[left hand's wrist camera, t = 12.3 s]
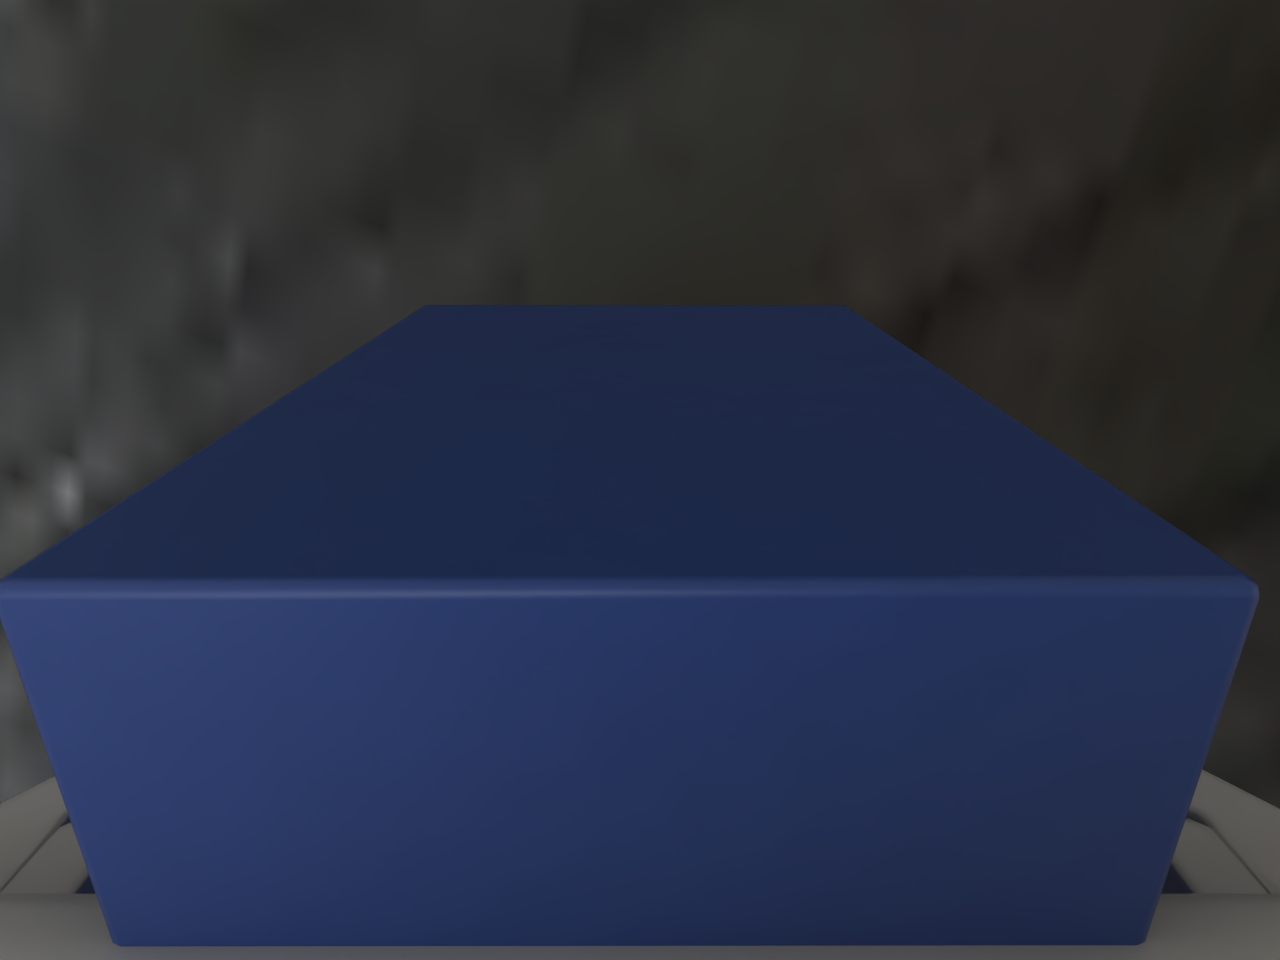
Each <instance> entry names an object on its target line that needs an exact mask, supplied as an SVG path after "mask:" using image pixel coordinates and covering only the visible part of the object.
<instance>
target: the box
mask: <svg viewBox="0 0 1280 960" xmlns="http://www.w3.org/2000/svg"><path fill="white" fill-rule="evenodd" d="M1258 600H1259V588H1258V585H1257V584H1256V582H1255V581H1254V579H1252V578H1251V577H1249V576H1248V575H1246V574H1245V573H1243V572H1242V571H1240V570H1239V569H1237V568H1236V567H1234V566H1233V565H1231V564H1230V563H1228V562H1227V561H1226V560H1224V559H1223V558H1221V557H1220V556H1218V555H1217V554H1215V553H1214V552H1212V551H1211V550H1209V549H1208V548H1206V547H1205V546H1203V545H1202V544H1200V543H1199V542H1197V541H1196V540H1194V539H1193V538H1191V537H1190V536H1188V535H1187V534H1185V533H1184V532H1182V531H1181V530H1179V529H1178V528H1176V527H1175V526H1173V525H1172V524H1170V523H1169V522H1167V521H1166V520H1164V519H1163V518H1161V517H1160V516H1158V515H1157V514H1155V513H1154V512H1152V511H1151V510H1149V509H1148V508H1146V507H1145V506H1143V505H1142V504H1140V503H1139V502H1137V501H1136V500H1134V499H1133V498H1132V497H1130V496H1129V495H1127V494H1126V493H1124V492H1123V491H1121V490H1120V489H1118V488H1117V487H1115V486H1114V485H1112V484H1111V483H1109V482H1108V481H1106V480H1105V479H1103V478H1102V477H1100V476H1099V475H1097V474H1096V473H1094V472H1093V471H1091V470H1090V469H1088V468H1087V467H1085V466H1084V465H1082V464H1081V463H1079V462H1078V461H1076V460H1075V459H1073V458H1072V457H1070V456H1069V455H1067V454H1066V453H1064V452H1063V451H1061V450H1060V449H1058V448H1057V447H1055V446H1054V445H1052V444H1051V443H1049V442H1048V441H1046V440H1045V439H1043V438H1042V437H1040V436H1039V435H1038V434H1036V433H1035V432H1033V431H1032V430H1030V429H1029V428H1027V427H1026V426H1024V425H1023V424H1021V423H1020V422H1018V421H1017V420H1015V419H1014V418H1012V417H1011V416H1009V415H1008V414H1006V413H1005V412H1003V411H1002V410H1000V409H999V408H997V407H996V406H994V405H993V404H991V403H990V402H988V401H987V400H985V399H984V398H982V397H981V396H979V395H978V394H976V393H975V392H973V391H972V390H970V389H969V388H967V387H966V386H964V385H963V384H961V383H960V382H958V381H957V380H955V379H954V378H952V377H951V376H949V375H948V374H946V373H945V372H943V371H942V370H941V369H939V368H938V367H936V366H935V365H933V364H932V363H930V362H929V361H927V360H926V359H924V358H923V357H921V356H920V355H918V354H917V353H915V352H914V351H912V350H911V349H909V348H908V347H906V346H905V345H903V344H902V343H900V342H899V341H897V340H896V339H894V338H893V337H891V336H890V335H888V334H887V333H885V332H884V331H882V330H881V329H879V328H878V327H876V326H875V325H873V324H872V323H870V322H869V321H867V320H866V319H864V318H863V317H861V316H860V315H858V314H857V313H855V312H854V311H852V310H851V309H849V308H848V307H846V306H844V305H426V306H424V307H422V308H420V309H419V310H417V311H415V312H414V313H412V314H411V315H409V316H408V317H406V318H405V319H403V320H402V321H400V322H398V323H397V324H395V325H394V326H392V327H391V328H389V329H388V330H386V331H384V332H383V333H381V334H380V335H378V336H377V337H375V338H374V339H372V340H371V341H369V342H367V343H366V344H364V345H363V346H361V347H360V348H358V349H357V350H355V351H353V352H352V353H350V354H349V355H347V356H346V357H344V358H343V359H341V360H340V361H338V362H336V363H335V364H333V365H332V366H330V367H329V368H327V369H326V370H324V371H322V372H321V373H319V374H318V375H316V376H315V377H313V378H312V379H310V380H309V381H307V382H305V383H304V384H302V385H301V386H299V387H298V388H296V389H295V390H293V391H291V392H290V393H288V394H287V395H285V396H284V397H282V398H281V399H279V400H278V401H276V402H274V403H273V404H271V405H270V406H268V407H267V408H265V409H264V410H262V411H260V412H259V413H257V414H256V415H254V416H253V417H251V418H250V419H248V420H247V421H245V422H243V423H242V424H240V425H239V426H237V427H236V428H234V429H233V430H231V431H229V432H228V433H226V434H225V435H223V436H222V437H220V438H219V439H217V440H216V441H214V442H212V443H211V444H209V445H208V446H206V447H205V448H203V449H202V450H200V451H198V452H197V453H195V454H194V455H192V456H191V457H189V458H188V459H186V460H185V461H183V462H181V463H180V464H178V465H177V466H175V467H174V468H172V469H171V470H169V471H167V472H166V473H164V474H163V475H161V476H160V477H158V478H157V479H155V480H154V481H152V482H150V483H149V484H147V485H146V486H144V487H143V488H141V489H140V490H138V491H137V492H135V493H133V494H132V495H130V496H129V497H127V498H126V499H124V500H123V501H121V502H119V503H118V504H116V505H115V506H113V507H112V508H110V509H109V510H107V511H106V512H104V513H102V514H101V515H99V516H98V517H96V518H95V519H93V520H92V521H90V522H88V523H87V524H85V525H84V526H82V527H81V528H79V529H78V530H76V531H75V532H73V533H71V534H70V535H68V536H67V537H65V538H64V539H62V540H61V541H59V542H57V543H56V544H54V545H53V546H51V547H50V548H48V549H47V550H45V551H44V552H42V553H40V554H39V555H37V556H36V557H34V558H33V559H31V560H30V561H28V562H26V563H25V564H23V565H22V566H20V567H19V568H17V569H16V570H14V571H13V572H11V573H9V574H8V575H6V576H5V577H3V578H2V579H0V620H1V623H2V625H3V628H4V631H5V634H6V637H7V640H8V643H9V646H10V648H11V651H12V654H13V657H14V660H15V663H16V666H17V669H18V672H19V674H20V677H21V680H22V683H23V686H24V689H25V692H26V695H27V697H28V700H29V703H30V706H31V709H32V712H33V715H34V718H35V720H36V723H37V726H38V729H39V732H40V735H41V738H42V741H43V743H44V746H45V749H46V752H47V755H48V758H49V761H50V764H51V766H52V769H53V772H54V775H55V778H56V781H57V784H58V787H59V789H60V792H61V795H62V798H63V801H64V804H65V807H66V810H67V813H68V815H69V818H70V821H71V824H72V827H73V830H74V833H75V836H76V838H77V841H78V844H79V847H80V850H81V853H82V856H83V859H84V861H85V864H86V867H87V870H88V873H89V876H90V879H91V882H92V884H93V887H94V890H95V893H96V896H97V899H98V902H99V905H100V907H101V910H102V913H103V916H104V919H105V922H106V925H107V928H108V930H109V933H110V936H111V939H112V942H113V943H114V944H116V945H119V946H958V945H1139V944H1141V943H1143V942H1145V940H1146V937H1147V934H1148V931H1149V928H1150V925H1151V922H1152V919H1153V916H1154V913H1155V910H1156V907H1157V904H1158V901H1159V898H1160V895H1161V892H1162V889H1163V886H1164V883H1165V880H1166V877H1167V874H1168V871H1169V868H1170V865H1171V862H1172V859H1173V856H1174V853H1175V850H1176V847H1177V844H1178V841H1179V838H1180V835H1181V832H1182V829H1183V826H1184V823H1185V820H1186V817H1187V814H1188V811H1189V808H1190V805H1191V802H1192V799H1193V796H1194V793H1195V790H1196V787H1197V784H1198V781H1199V778H1200V775H1201V772H1202V769H1203V766H1204V763H1205V760H1206V757H1207V754H1208V750H1209V747H1210V744H1211V741H1212V738H1213V735H1214V732H1215V729H1216V726H1217V723H1218V720H1219V717H1220V714H1221V711H1222V708H1223V705H1224V702H1225V699H1226V696H1227V693H1228V690H1229V687H1230V684H1231V681H1232V678H1233V675H1234V672H1235V669H1236V666H1237V663H1238V660H1239V657H1240V654H1241V651H1242V648H1243V645H1244V642H1245V639H1246V636H1247V633H1248V630H1249V627H1250V624H1251V621H1252V618H1253V615H1254V612H1255V609H1256V606H1257V603H1258Z"/></svg>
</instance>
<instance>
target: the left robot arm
mask: <svg viewBox="0 0 1280 960" xmlns="http://www.w3.org/2000/svg"><path fill="white" fill-rule="evenodd" d="M0 960H1280V809H1279V808H1277V807H1275V806H1273V805H1271V804H1269V803H1267V802H1265V801H1263V800H1261V799H1259V798H1257V797H1255V796H1253V795H1251V794H1249V793H1247V792H1245V791H1243V790H1241V789H1239V788H1238V787H1236V786H1234V785H1232V784H1230V783H1228V782H1226V781H1224V780H1222V779H1220V778H1218V777H1216V776H1214V775H1212V774H1210V773H1208V772H1206V771H1204V770H1202V772H1201V775H1200V778H1199V781H1198V784H1197V787H1196V790H1195V793H1194V796H1193V799H1192V802H1191V805H1190V808H1189V811H1188V814H1187V817H1186V820H1185V823H1184V826H1183V829H1182V832H1181V835H1180V838H1179V841H1178V844H1177V847H1176V850H1175V853H1174V856H1173V859H1172V862H1171V865H1170V868H1169V871H1168V874H1167V877H1166V880H1165V883H1164V886H1163V889H1162V892H1161V895H1160V898H1159V901H1158V904H1157V907H1156V910H1155V913H1154V916H1153V919H1152V922H1151V925H1150V928H1149V931H1148V934H1147V937H1146V940H1145V942H1143V943H1141V944H1139V945H958V946H119V945H116V944H114V943H113V942H112V939H111V936H110V933H109V930H108V928H107V925H106V922H105V919H104V916H103V913H102V910H101V907H100V905H99V902H98V899H97V896H96V893H95V890H94V887H93V884H92V882H91V879H90V876H89V873H88V870H87V867H86V864H85V861H84V859H83V856H82V853H81V850H80V847H79V844H78V841H77V838H76V836H75V833H74V830H73V827H72V824H71V821H70V818H69V815H68V813H67V810H66V807H65V804H64V801H63V798H62V795H61V792H60V789H59V787H58V784H57V781H56V778H55V776H54V777H52V778H50V779H48V780H46V781H44V782H42V783H40V784H38V785H36V786H34V787H32V788H30V789H28V790H26V791H24V792H22V793H20V794H18V795H16V796H14V797H12V798H10V799H8V800H6V801H4V802H2V803H0Z"/></svg>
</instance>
